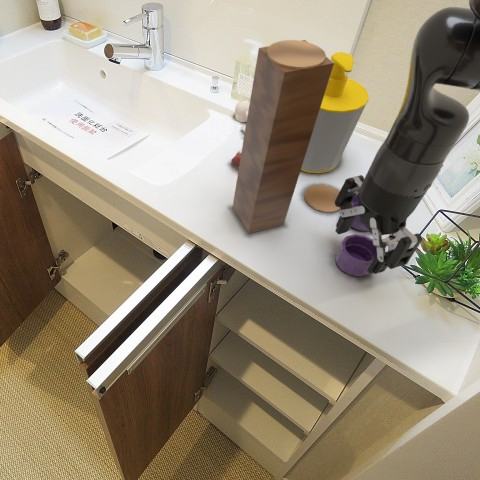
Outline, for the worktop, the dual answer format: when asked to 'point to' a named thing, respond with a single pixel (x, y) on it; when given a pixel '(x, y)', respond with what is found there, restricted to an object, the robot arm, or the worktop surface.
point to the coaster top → (296, 54)
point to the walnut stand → (276, 139)
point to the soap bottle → (335, 117)
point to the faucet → (242, 111)
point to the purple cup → (358, 218)
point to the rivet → (243, 128)
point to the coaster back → (322, 198)
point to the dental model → (236, 159)
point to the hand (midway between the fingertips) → (356, 250)
